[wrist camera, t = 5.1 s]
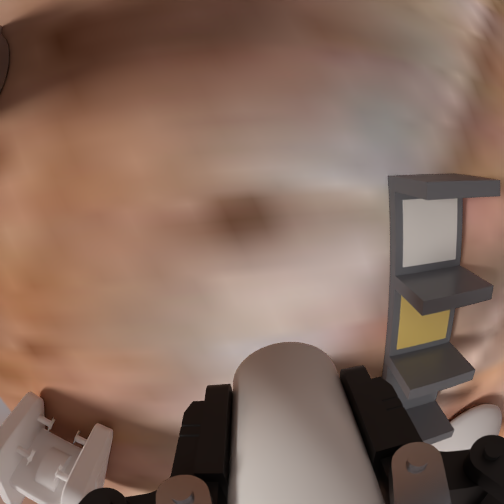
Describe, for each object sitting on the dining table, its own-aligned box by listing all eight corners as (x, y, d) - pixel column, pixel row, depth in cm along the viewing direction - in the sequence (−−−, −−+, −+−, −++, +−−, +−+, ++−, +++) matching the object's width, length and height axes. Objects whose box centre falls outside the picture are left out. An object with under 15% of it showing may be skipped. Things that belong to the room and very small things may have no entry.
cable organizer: (33, 375, 26) (-24, 446, 15) (122, 420, 27) (84, 511, 16) (39, 447, 30) (4, 506, 18) (108, 482, 31) (85, 549, 19)
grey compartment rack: (387, 176, 21) (426, 182, 15) (454, 173, 20) (500, 180, 15) (376, 416, 27) (393, 456, 21) (429, 401, 26) (451, 436, 21)
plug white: (224, 348, 10) (205, 563, 3) (337, 334, 10) (421, 529, 3) (241, 424, 11) (239, 594, 4) (335, 411, 11) (382, 573, 4)
